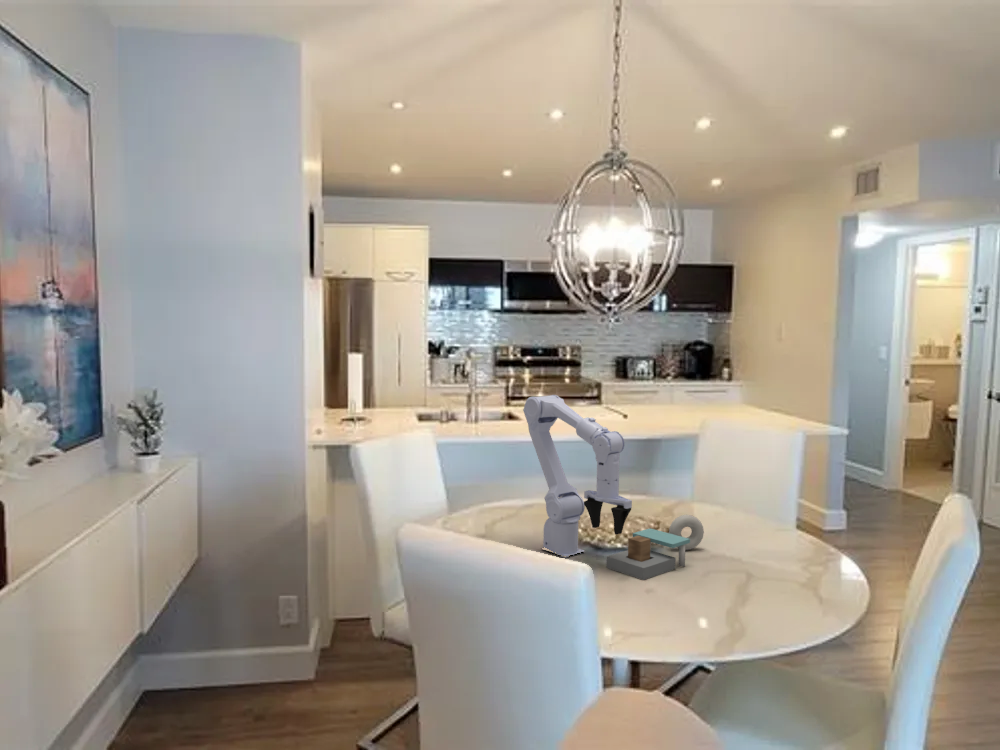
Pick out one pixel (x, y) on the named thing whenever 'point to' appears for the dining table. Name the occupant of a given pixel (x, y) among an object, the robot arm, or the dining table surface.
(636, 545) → the peg
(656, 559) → the socket block
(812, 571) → the dining table surface
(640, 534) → the teal mini table
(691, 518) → the donut
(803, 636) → the dining table surface
